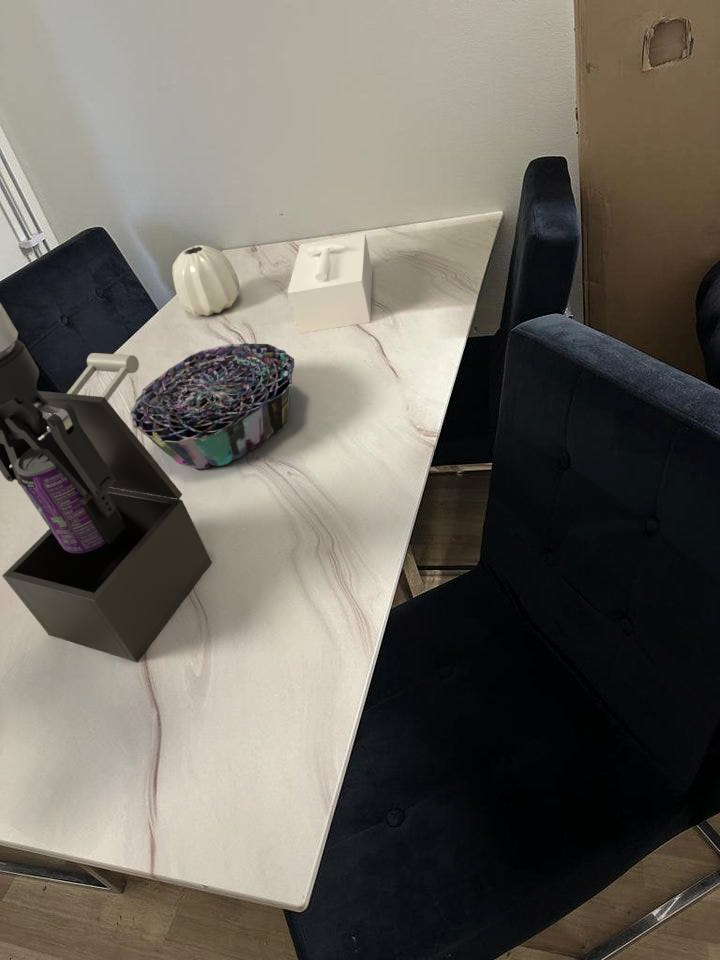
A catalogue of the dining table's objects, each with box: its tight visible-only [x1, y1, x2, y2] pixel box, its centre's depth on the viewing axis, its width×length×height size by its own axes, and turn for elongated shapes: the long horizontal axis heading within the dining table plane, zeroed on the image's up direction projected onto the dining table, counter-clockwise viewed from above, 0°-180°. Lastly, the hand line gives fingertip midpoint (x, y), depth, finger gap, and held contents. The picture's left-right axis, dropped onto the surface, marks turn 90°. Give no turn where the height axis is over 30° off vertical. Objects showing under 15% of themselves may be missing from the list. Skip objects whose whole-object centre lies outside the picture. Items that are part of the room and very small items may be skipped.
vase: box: [171, 244, 240, 317], centre depth 145 cm, size 14×14×13 cm
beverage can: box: [15, 447, 122, 553], centre depth 73 cm, size 7×7×12 cm
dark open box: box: [1, 488, 213, 663], centre depth 80 cm, size 16×14×11 cm
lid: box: [38, 352, 183, 500], centre depth 78 cm, size 17×14×10 cm
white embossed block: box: [286, 232, 373, 335], centre depth 136 cm, size 14×25×11 cm, turn 178°
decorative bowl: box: [129, 342, 295, 471], centre depth 107 cm, size 26×28×10 cm
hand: (90, 529), depth 76 cm, fingers closed on beverage can, 7 cm apart
